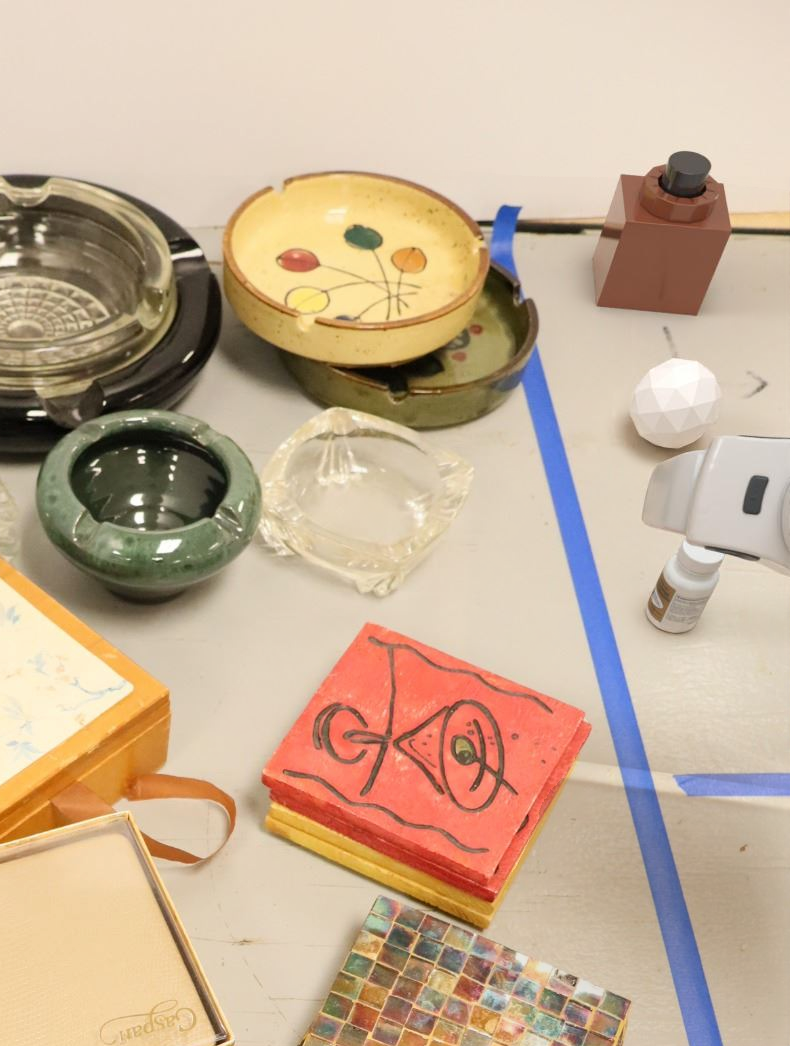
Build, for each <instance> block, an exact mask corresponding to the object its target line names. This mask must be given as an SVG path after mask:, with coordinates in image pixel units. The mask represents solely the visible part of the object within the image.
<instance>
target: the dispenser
mask: <svg viewBox="0 0 790 1046" xmlns="http://www.w3.org/2000/svg"><path fill="white" fill-rule="evenodd" d="M666 165H667V163H664V164H661V165H660V164H659V165H655V166H653V167H652V168H651V169H650V170H649V171H648V172H647V173H646V174H645V175H636V174H625V173H621V174H620V175H619V178H618V181H617V184H616V187H615V191H614V193H613V197H612V199H611V202H610V205H609V208H608V211H607V214H606V218H605V220H604V223H603V227H602V229H601V232H600V235H599V238H598V241H597V245H596V247H595V251H594V253H593V256H592V266H593V267H592V268H593V269H592V270H593V279H594V291H595V300H596V303H595V304H596V307H600V308H601V307H602V308H611V309H623V310H632V311H641V312H642V311H643V312H652V313H653V312H654V313H662V314H663V313H664V314H674V315H683V316H684V315H685V316H694V317H695V316H698V314H699V311H700V309H701V306H702V304H703V302H704V299H705V297H706V294H707V292H708V290H709V287H710V285H711V283H712V280H713V279H714V275H715V273H716V270H717V268H718V265H719V263H720V260H721V258H722V257H723V254H724V252H725V249H726V246H727V244H728V241H729V239H730V237H731V234H732V231H733V229H732V225H731V218H730V214H729V213H730V212H729V207H728V202H727V196H726V190H725V185H724V183H722V182H718V181H717V180H716V179H715V178H714V177H712V175H710V174H709V175H708V178H707V180H706V183H705V185H704V188H703V191H702V193H701V195H700V196H699V197H695V198H691V199H689V198H678V197H675V196H673V195H670V194H668V193H666V192H665V191H664V190H663V189H661V188H660V181H661V179H662V176H663V173H664V170H665V168H666Z"/></svg>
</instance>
